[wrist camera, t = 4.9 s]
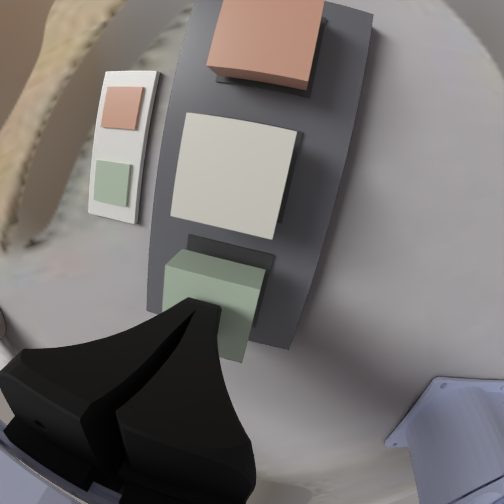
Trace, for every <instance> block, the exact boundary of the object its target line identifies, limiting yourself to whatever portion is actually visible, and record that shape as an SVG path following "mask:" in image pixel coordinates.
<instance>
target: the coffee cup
mask: <svg viewBox="0 0 504 504" xmlns="http://www.w3.org/2000/svg"><path fill="white" fill-rule="evenodd" d="M5 333H6V325H5V321H4V318H3V315H2V312H1V310H0V339H1V338H2V337H3V336H4V335H5Z"/></svg>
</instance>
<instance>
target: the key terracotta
mask: <svg viewBox="0 0 504 504" xmlns="http://www.w3.org/2000/svg"><path fill="white" fill-rule="evenodd" d="M324 1H325V0H223V4H222V7H221V10H220V14H219V18H218V21H217V25H216V28H215V32H214V36H213V40H212V44H211V48H210V52H209V56H208V60H207V64H206V66H207V67H209V68H210V69H211V70H212V71H213V72H215V73H216V74H217V75H218V76H224V77H232V78H240V79H247V80H254V81H260V82H266V83H271V84H277V85H282V86H287V87H292V88H297V89H301V90H306V91H307V86H308V81H309V77H310V72H311V67H312V62H313V57H314V53H315V48H316V43H317V38H318V33H319V28H320V23H321V18H322V12H323V6H324Z"/></svg>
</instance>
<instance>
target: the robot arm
mask: <svg viewBox="0 0 504 504" xmlns="http://www.w3.org/2000/svg"><path fill="white" fill-rule="evenodd" d="M221 312H222V308H221V307H220V306H219V305H216V304H212V303H208V302H205V301H201V300H197V299H194V298H190V297H187V298H186V299H184V300H182V301H180V302H179V303H177V304H176V305H174V306H172V307H171V308H169V309H167V310H166V311H164V312H162V313H160V314H158V315H157V316H155V317H153V318H151V319H149V320H147V321H145V322H143V323H141V324H139V325H137V326H135V327H133V328H131V329H128V330H126V331H123V332H121V333H118V334H115V335H112V336H109V337H106V338H103V339H99V340H95V341H91V342H87V343H83V344H78V345H72V346H65V347H58V348H44V349H23V350H22V351H21V352H20V353H19V354H18V355H17V356H16V357H14V358H13V359H12V360H11V361H10V362H9V363H8V364H7V365H6V366H5V367H4V368H3V369H2V370H1V371H0V388H1V391H2V393H3V395H4V397H5V399H6V401H7V402H8V404H9V406H10V408H11V410H12V411H13V413H14V415H15V417H14V418H13V419H12V420H11V422H10V423H9V424H8V425H6V424H5V423H4V422H3V421H1V420H0V504H81V503H80V502H78V501H77V500H75V499H74V498H72V497H71V496H69V495H68V494H66V493H64V492H63V491H61V490H60V489H58V488H57V487H55V486H54V485H52V484H51V483H49V482H48V481H46V480H45V479H43V478H42V477H40V476H39V475H38V474H36V473H35V472H33V471H32V470H31V469H29V468H28V467H26V466H25V465H24V464H22V463H21V462H20V461H19V460H18V459H20V460H21V461H22V462H24V463H25V464H26V465H28V466H29V467H30V468H32V469H33V470H34V471H36V472H38V473H39V474H40V475H42V476H43V477H45V478H46V479H48V480H49V481H51V482H52V483H54V484H56V485H57V486H59V487H60V488H62V489H63V490H65V491H67V492H68V493H70V494H72V495H74V496H75V497H77V498H79V499H81V500H83V501H85V502H86V503H88V504H246V501H247V499H248V498H249V496H250V495H251V493H252V492H253V490H254V488H255V485H256V467H255V460H254V454H253V449H252V444H251V441H250V439H249V437H248V435H247V434H246V432H245V430H244V428H243V426H242V425H241V423H240V421H239V419H238V416H237V414H236V412H235V410H234V408H233V405H232V402H231V400H230V397H229V394H228V392H227V389H226V386H225V382H224V379H223V375H222V370H221V365H220V360H219V352H218V340H217V335H218V329H219V324H220V318H221ZM384 443H385V446H386V447H409V452H410V456H411V461H412V466H413V471H414V476H415V481H416V486H417V492H418V497H419V503H420V504H504V380H481V379H463V378H449V377H437V378H435V379H433V380H432V381H431V383H430V384H429V386H428V387H427V389H426V390H425V391H424V393H423V394H422V396H421V397H420V398H419V400H418V401H417V402H416V404H415V405H414V406H413V408H412V409H411V410H410V412H409V413H408V414H407V415H406V417H405V418H404V419H403V420H402V422H401V423H400V424H399V425H398V427H397V428H396V429H395V430H394V431H393V432H392V434H391V435H390V436H389V437H388V438H387V439H386V441H385V442H384ZM15 456H16V457H17V458H18V459H17V458H16V457H15Z"/></svg>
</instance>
